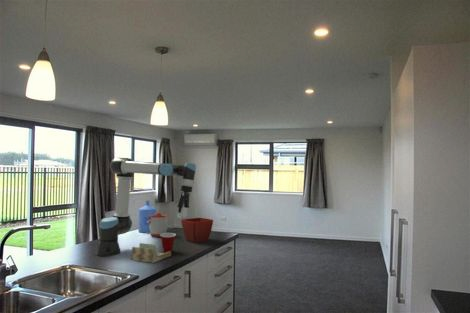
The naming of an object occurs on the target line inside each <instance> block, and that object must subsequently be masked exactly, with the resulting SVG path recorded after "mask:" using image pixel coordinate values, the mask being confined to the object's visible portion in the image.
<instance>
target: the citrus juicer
mask: <svg viewBox="0 0 470 313" xmlns="http://www.w3.org/2000/svg"><path fill="white" fill-rule="evenodd" d="M147 223H149V229H150V233H149V234H150V236H151V237H154V238H156V237H157V238H159V237H161V236H160V234H162V233H167V231H168V230H167V229H168V215H166V214H161V212H156V215H151V216H149V220H148V221H147Z"/></svg>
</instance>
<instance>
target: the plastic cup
mask: <svg viewBox="0 0 470 313" xmlns="http://www.w3.org/2000/svg"><path fill="white" fill-rule="evenodd" d="M176 236H177V233H173V232H166V233H162V234H160V236H159V237H160V239H161V244H162V245H161V246H162V251H163V252H164V253H166V252H169V251H171V253H172V252H173V248H174V243H175V239H176Z"/></svg>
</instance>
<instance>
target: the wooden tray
mask: <svg viewBox="0 0 470 313" xmlns="http://www.w3.org/2000/svg"><path fill="white" fill-rule="evenodd" d="M131 252H132V253H131V254H130V260H131V261H139V262H145V263H152V264H153V263H157V262H159V261H161V260H164V259H167V258H169V257H171V256H172V252H171V251H169V252H164V253H163V252H158V256H156V257H153V249H147V248H139V247H136V246H132V247H131Z"/></svg>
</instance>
